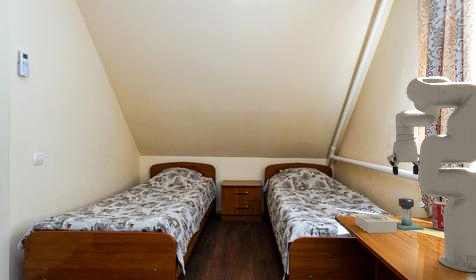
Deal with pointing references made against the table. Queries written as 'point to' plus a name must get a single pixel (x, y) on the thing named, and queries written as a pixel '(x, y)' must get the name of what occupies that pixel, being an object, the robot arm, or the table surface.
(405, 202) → the handwheel peg
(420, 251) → the table surface
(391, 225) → the block
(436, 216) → the soda can
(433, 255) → the table surface
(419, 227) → the pad
